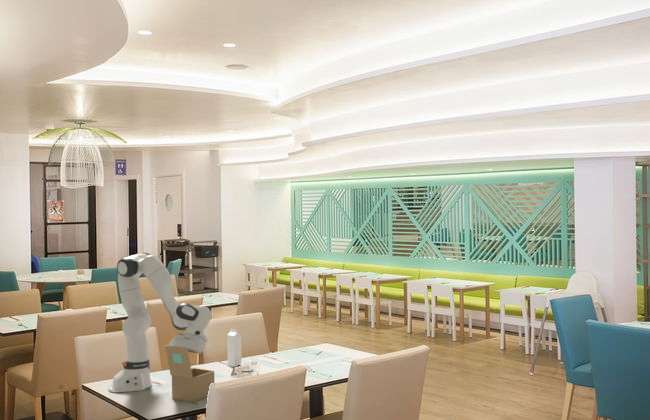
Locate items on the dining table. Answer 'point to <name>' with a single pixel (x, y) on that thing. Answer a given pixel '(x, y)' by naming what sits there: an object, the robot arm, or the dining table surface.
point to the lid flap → (179, 361)
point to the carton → (192, 385)
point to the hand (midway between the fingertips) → (179, 358)
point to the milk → (234, 348)
